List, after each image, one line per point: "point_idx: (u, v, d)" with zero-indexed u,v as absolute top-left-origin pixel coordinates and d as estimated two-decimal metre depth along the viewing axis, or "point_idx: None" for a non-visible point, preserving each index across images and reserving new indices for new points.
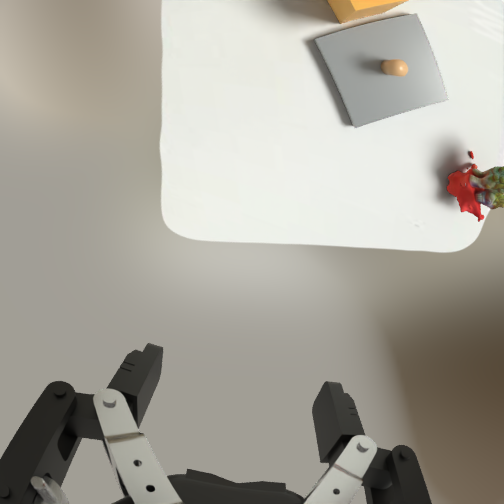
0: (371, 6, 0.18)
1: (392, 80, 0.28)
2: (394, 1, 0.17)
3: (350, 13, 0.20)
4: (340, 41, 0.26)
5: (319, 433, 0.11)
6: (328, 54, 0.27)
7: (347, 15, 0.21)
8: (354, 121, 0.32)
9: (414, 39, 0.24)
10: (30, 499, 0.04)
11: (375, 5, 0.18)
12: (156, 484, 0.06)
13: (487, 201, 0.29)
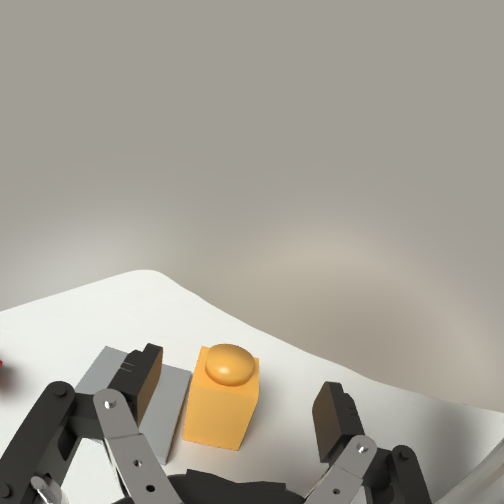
0: (199, 357, 0.27)
1: None
2: (195, 372, 0.25)
3: None
4: (177, 382, 0.32)
5: (319, 433, 0.11)
6: (172, 369, 0.34)
7: None
8: (110, 348, 0.34)
9: None
10: (30, 499, 0.04)
11: (198, 359, 0.27)
12: (156, 484, 0.06)
13: None
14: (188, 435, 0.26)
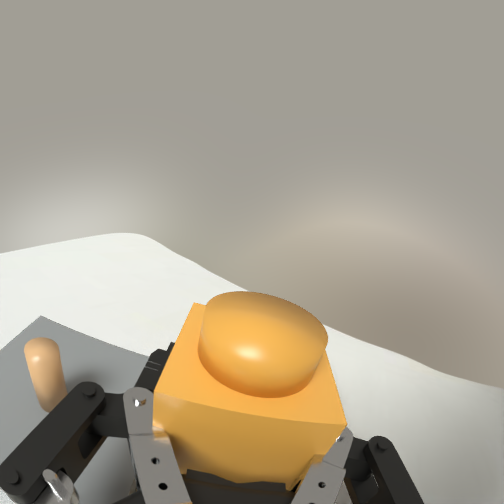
0: None
1: (33, 387, 0.12)
2: (171, 359, 0.09)
3: None
4: None
5: None
6: (142, 360, 0.19)
7: None
8: (46, 319, 0.19)
9: None
10: (39, 489, 0.04)
11: (184, 328, 0.11)
12: (156, 484, 0.06)
13: None
14: None
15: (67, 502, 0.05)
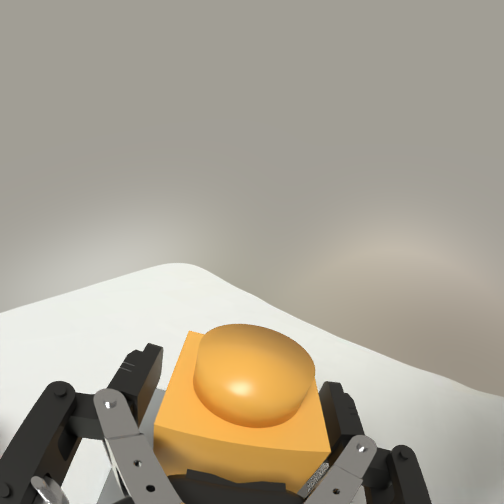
0: None
1: None
2: (168, 392, 0.09)
3: None
4: None
5: None
6: None
7: None
8: (157, 390, 0.20)
9: None
10: (30, 499, 0.04)
11: (180, 359, 0.12)
12: (156, 484, 0.06)
13: None
14: None
15: None
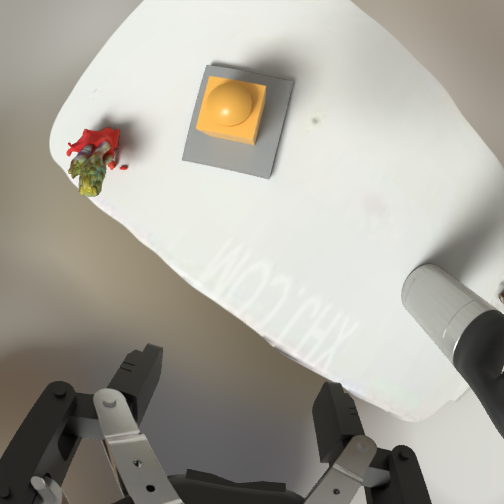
0: (206, 91, 0.27)
1: None
2: (200, 113, 0.28)
3: None
4: (280, 97, 0.35)
5: (319, 433, 0.11)
6: (275, 81, 0.34)
7: None
8: (211, 66, 0.34)
9: (247, 159, 0.38)
10: (30, 499, 0.04)
11: (205, 94, 0.27)
12: (156, 484, 0.06)
13: (81, 153, 0.33)
14: (213, 136, 0.36)
15: None
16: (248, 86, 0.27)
